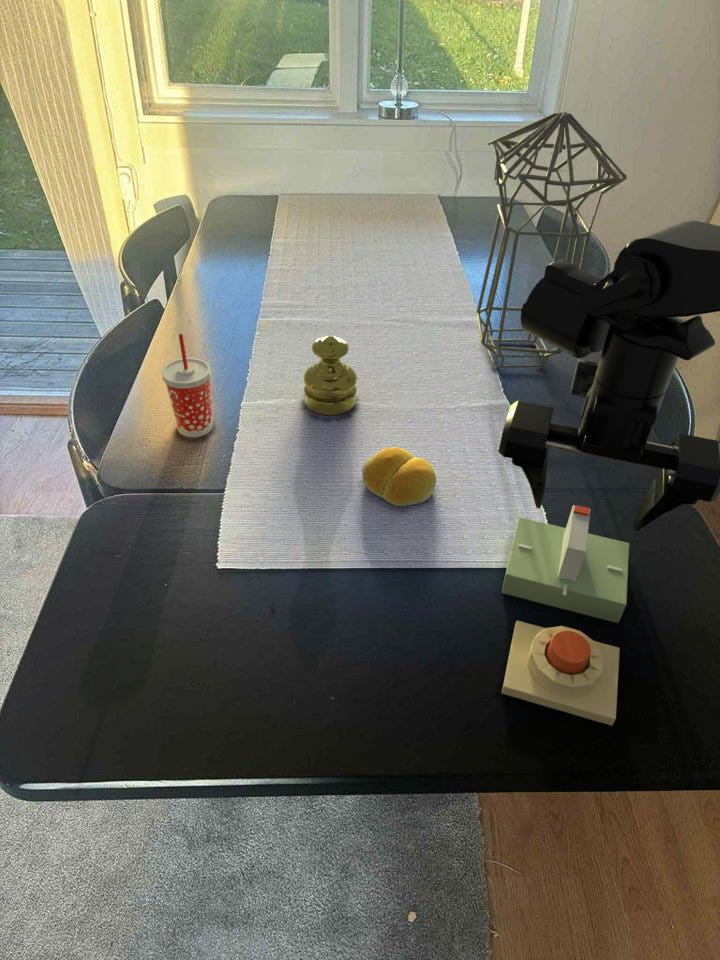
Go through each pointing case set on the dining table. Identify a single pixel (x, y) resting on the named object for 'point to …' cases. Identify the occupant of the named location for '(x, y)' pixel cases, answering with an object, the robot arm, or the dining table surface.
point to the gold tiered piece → (330, 379)
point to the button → (568, 652)
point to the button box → (562, 675)
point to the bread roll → (399, 477)
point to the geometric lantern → (543, 133)
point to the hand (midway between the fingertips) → (586, 516)
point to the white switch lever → (574, 543)
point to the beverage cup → (189, 393)
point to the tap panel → (538, 579)
